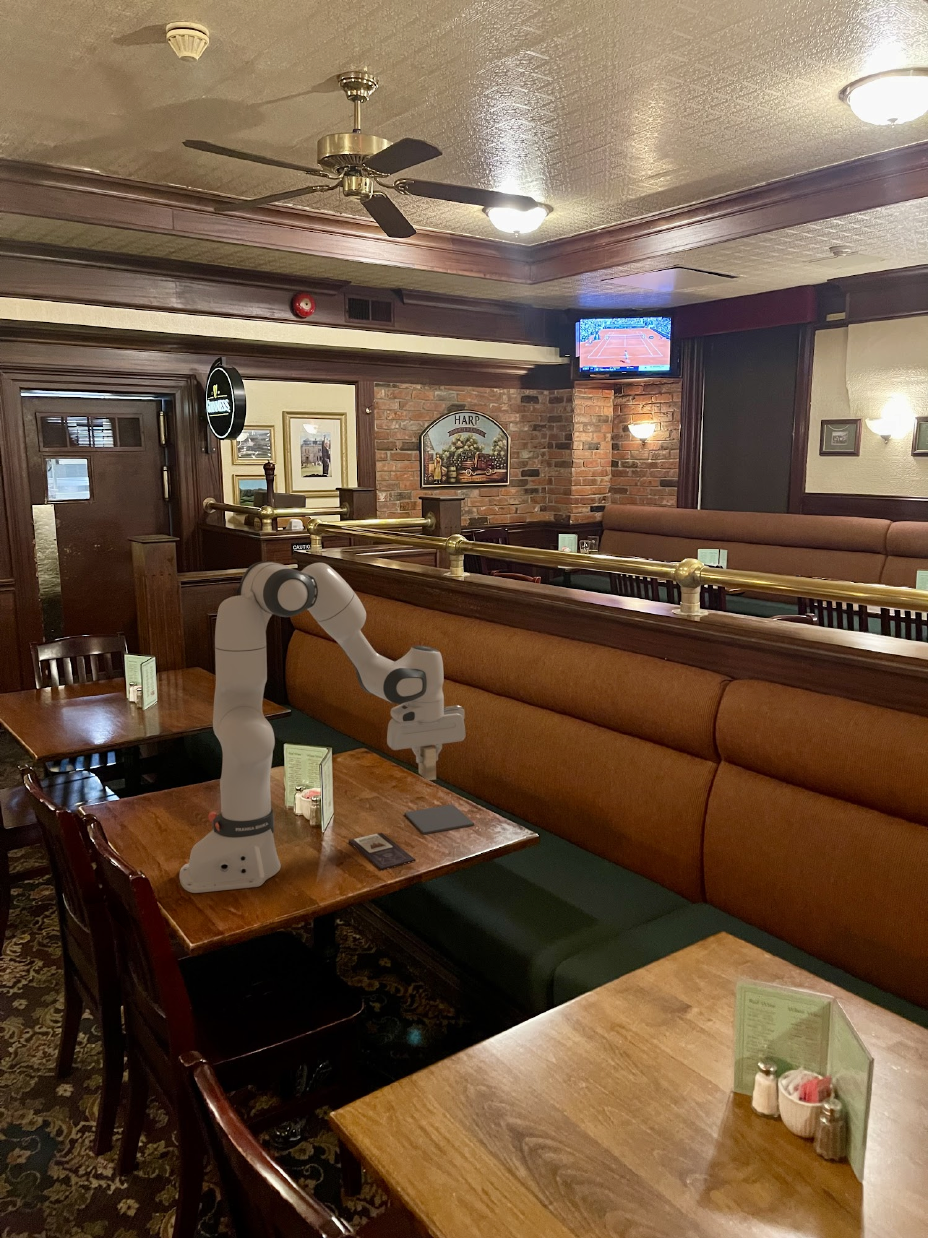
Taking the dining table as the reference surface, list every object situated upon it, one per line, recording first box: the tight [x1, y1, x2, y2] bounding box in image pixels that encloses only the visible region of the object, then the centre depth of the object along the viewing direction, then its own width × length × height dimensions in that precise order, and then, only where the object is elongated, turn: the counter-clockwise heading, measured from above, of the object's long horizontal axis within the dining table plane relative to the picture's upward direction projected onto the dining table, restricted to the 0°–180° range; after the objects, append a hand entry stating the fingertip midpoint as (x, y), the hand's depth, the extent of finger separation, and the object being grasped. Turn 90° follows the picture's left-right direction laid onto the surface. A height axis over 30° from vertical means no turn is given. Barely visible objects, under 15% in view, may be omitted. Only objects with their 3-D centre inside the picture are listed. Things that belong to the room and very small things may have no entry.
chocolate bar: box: [348, 832, 416, 871], centre depth 221 cm, size 9×1×18 cm
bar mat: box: [404, 804, 475, 835], centre depth 240 cm, size 14×14×1 cm
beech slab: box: [418, 745, 437, 781], centre depth 233 cm, size 6×2×8 cm, turn 23°
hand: (427, 761), depth 233 cm, fingers closed on beech slab, 2 cm apart
